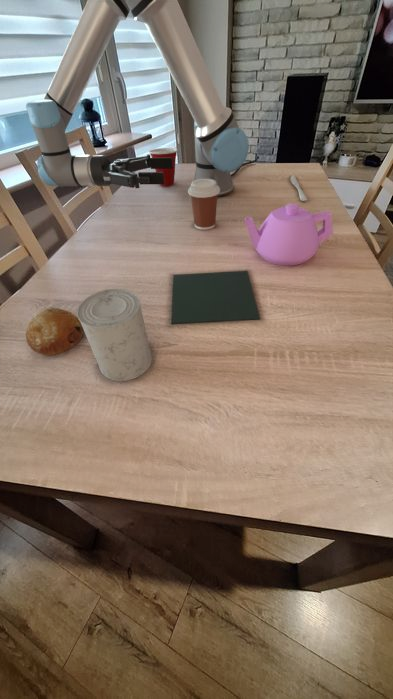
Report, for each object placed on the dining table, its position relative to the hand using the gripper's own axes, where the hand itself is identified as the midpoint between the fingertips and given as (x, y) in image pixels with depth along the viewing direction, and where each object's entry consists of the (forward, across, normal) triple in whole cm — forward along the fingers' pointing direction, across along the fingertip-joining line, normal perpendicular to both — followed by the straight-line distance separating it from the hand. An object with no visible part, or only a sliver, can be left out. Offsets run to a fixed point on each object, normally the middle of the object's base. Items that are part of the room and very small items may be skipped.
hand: (168, 170), depth 83 cm
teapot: (+32, +17, -15) cm, 39 cm away
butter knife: (+41, -31, -15) cm, 54 cm away
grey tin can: (+1, +57, -16) cm, 59 cm away
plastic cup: (-9, -38, -15) cm, 42 cm away
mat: (+15, +36, -15) cm, 42 cm away
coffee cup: (+10, 0, -15) cm, 18 cm away
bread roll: (-14, +52, -16) cm, 56 cm away
